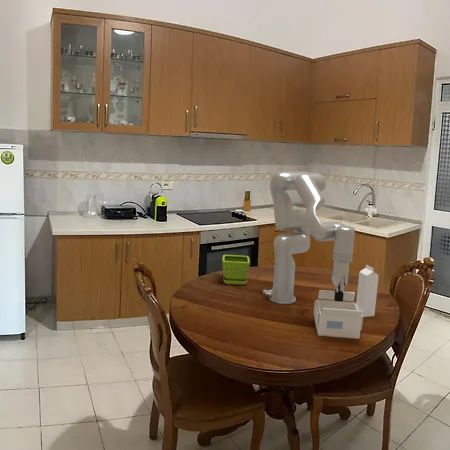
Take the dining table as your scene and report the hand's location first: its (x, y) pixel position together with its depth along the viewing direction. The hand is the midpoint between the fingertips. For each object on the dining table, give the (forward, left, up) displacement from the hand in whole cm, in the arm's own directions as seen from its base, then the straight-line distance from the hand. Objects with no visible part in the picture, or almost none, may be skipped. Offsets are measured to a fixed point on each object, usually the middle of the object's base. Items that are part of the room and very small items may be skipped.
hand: (338, 300), depth 198 cm
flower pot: (-45, +52, -12) cm, 70 cm away
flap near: (0, -10, -1) cm, 10 cm away
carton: (0, 0, -12) cm, 12 cm away
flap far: (0, +6, 0) cm, 6 cm away
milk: (+15, +19, -12) cm, 27 cm away
